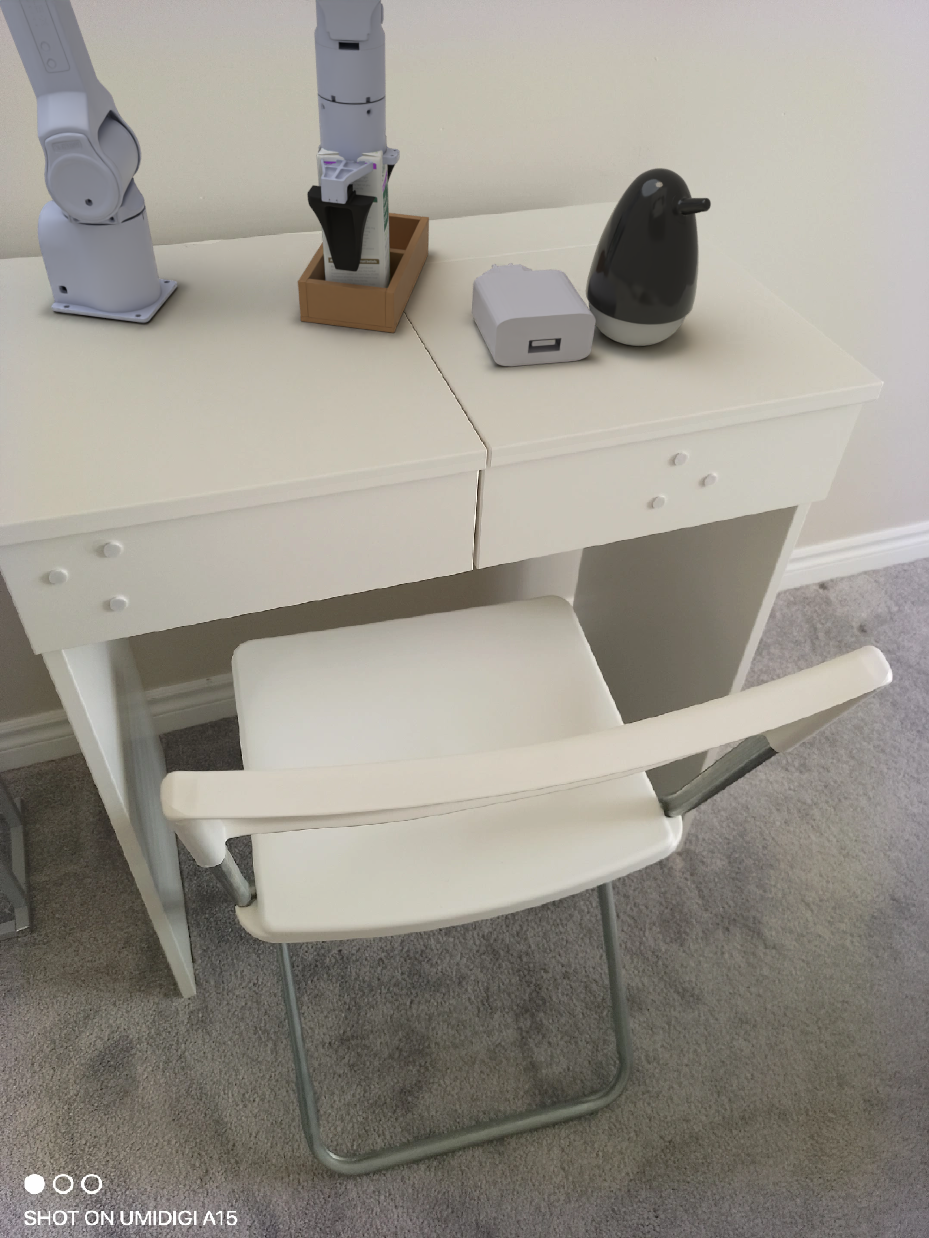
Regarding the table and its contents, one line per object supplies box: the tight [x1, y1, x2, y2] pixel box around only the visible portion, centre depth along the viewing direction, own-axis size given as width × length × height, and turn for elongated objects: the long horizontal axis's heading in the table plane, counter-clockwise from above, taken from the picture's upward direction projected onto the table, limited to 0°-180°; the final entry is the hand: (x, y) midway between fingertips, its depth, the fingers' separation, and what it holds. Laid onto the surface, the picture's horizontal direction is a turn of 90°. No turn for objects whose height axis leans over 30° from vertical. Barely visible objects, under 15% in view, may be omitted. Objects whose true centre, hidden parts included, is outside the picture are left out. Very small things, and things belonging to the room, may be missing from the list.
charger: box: [471, 262, 596, 367], centre depth 91 cm, size 5×9×15 cm
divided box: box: [297, 212, 430, 334], centre depth 95 cm, size 9×17×4 cm, turn 171°
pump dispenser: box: [585, 167, 712, 347], centre depth 87 cm, size 10×10×15 cm
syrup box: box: [315, 135, 390, 288], centre depth 88 cm, size 6×6×14 cm
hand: (356, 251), depth 90 cm, fingers open, 7 cm apart
